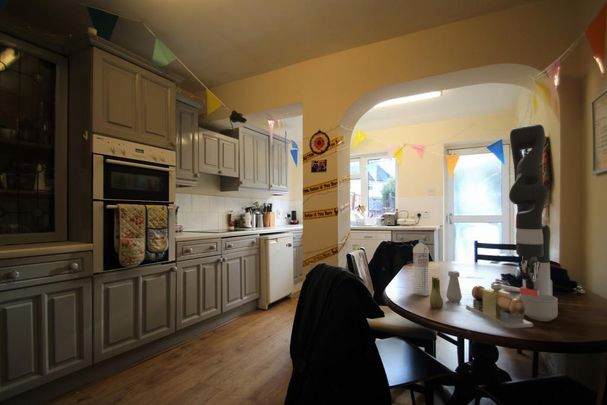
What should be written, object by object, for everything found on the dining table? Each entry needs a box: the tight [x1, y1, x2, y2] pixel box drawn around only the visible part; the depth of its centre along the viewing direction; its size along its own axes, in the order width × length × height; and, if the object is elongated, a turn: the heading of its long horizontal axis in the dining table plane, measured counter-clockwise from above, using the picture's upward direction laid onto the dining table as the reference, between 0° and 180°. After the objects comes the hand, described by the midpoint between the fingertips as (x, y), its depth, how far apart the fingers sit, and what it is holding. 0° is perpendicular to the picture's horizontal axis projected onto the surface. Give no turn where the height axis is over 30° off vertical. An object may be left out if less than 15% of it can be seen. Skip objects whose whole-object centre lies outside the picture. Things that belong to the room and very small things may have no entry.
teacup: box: [519, 293, 559, 322], centre depth 106 cm, size 14×11×8 cm
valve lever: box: [490, 282, 539, 297], centre depth 102 cm, size 14×3×2 cm, turn 40°
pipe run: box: [465, 285, 534, 329], centre depth 106 cm, size 9×20×10 cm, turn 8°
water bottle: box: [412, 239, 430, 297], centre depth 134 cm, size 7×7×25 cm
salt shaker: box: [445, 269, 463, 304], centre depth 123 cm, size 6×6×13 cm
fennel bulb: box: [429, 276, 444, 310], centre depth 115 cm, size 6×5×12 cm
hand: (530, 291), depth 100 cm, fingers closed
